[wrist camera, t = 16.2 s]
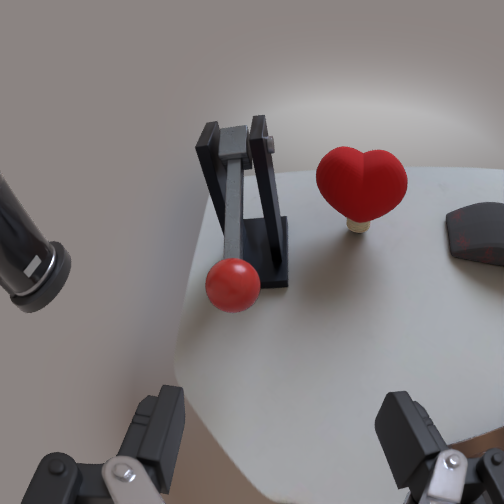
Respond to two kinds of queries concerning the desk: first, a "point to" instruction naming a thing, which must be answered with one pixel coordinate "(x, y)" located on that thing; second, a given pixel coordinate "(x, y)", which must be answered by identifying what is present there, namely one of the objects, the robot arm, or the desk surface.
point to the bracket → (272, 225)
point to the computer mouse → (478, 232)
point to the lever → (233, 230)
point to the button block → (480, 443)
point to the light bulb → (361, 184)
